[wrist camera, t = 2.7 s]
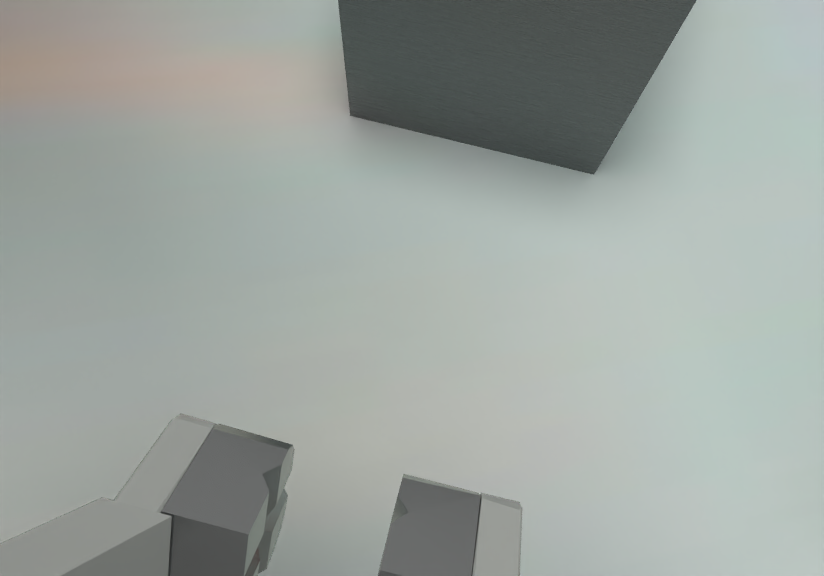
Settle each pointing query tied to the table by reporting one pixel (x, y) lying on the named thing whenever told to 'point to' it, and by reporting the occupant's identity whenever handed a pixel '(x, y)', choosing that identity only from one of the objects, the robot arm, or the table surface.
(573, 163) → the iron bookend
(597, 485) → the table surface
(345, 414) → the table surface
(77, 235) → the table surface
